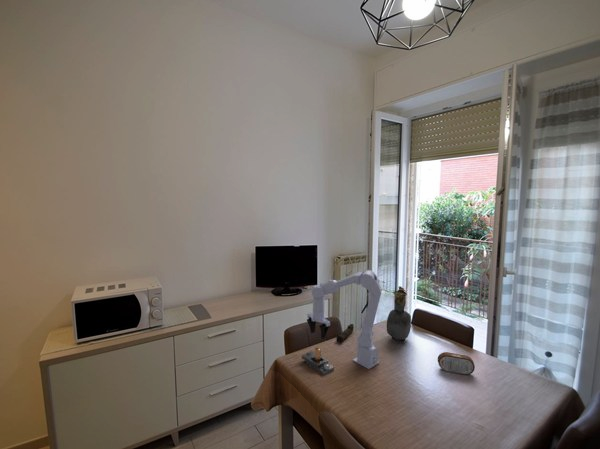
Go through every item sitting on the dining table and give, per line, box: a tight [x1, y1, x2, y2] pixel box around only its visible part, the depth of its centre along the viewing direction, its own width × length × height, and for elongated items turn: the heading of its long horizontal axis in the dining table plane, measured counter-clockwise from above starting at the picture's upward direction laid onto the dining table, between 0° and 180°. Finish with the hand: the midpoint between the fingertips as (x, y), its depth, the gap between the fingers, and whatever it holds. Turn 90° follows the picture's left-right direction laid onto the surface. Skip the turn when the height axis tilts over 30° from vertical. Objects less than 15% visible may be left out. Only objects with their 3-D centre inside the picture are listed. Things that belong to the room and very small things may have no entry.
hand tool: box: [335, 323, 355, 344], centre depth 170 cm, size 19×4×5 cm, turn 144°
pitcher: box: [386, 286, 412, 344], centre depth 167 cm, size 11×19×30 cm, turn 147°
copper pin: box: [314, 347, 322, 363], centre depth 140 cm, size 3×3×8 cm
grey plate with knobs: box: [301, 350, 335, 376], centre depth 140 cm, size 15×7×3 cm, turn 41°
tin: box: [437, 351, 476, 376], centre depth 136 cm, size 15×3×8 cm, turn 71°
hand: (318, 335), depth 151 cm, fingers open, 7 cm apart
